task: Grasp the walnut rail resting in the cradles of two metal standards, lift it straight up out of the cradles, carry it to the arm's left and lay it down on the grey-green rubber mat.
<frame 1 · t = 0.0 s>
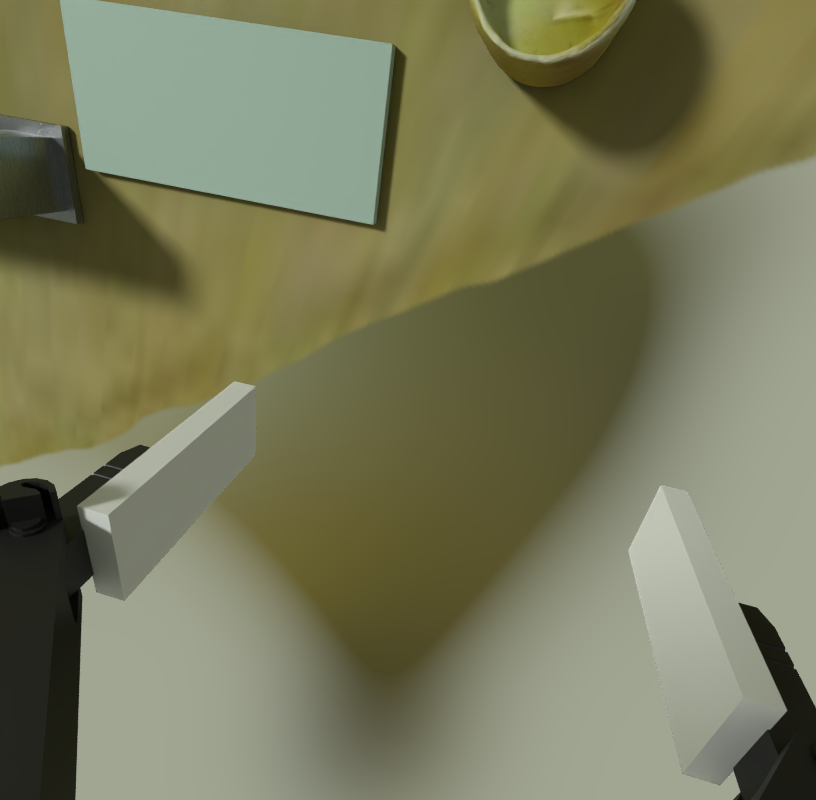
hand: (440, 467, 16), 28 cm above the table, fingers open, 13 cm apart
mat: (228, 114, 39), on the table
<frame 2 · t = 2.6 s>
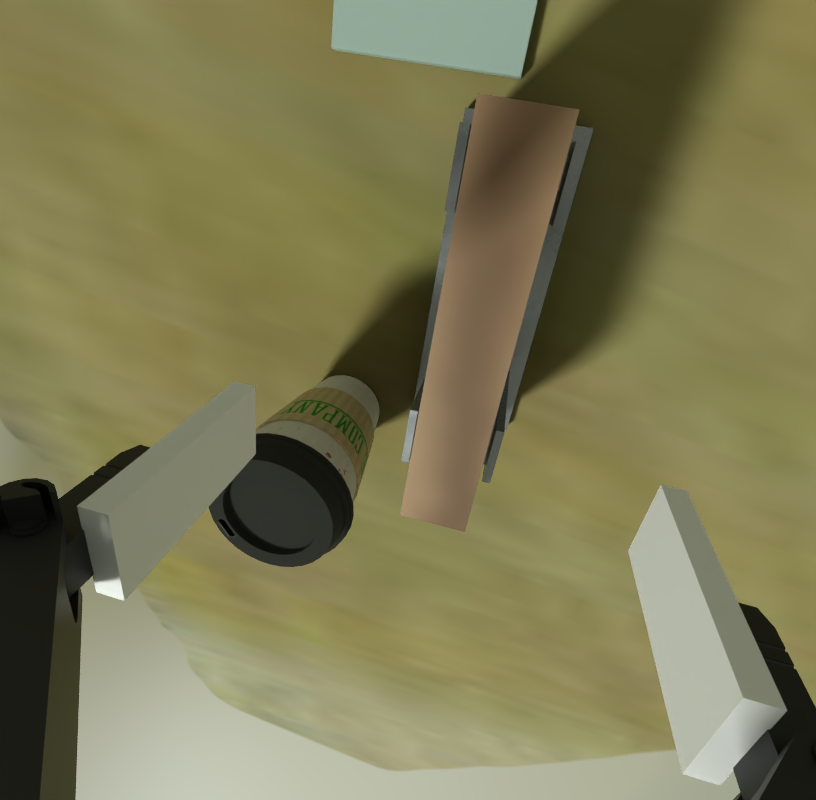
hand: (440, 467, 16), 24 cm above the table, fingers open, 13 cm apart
coffee cup: (346, 405, 44), on the table
rail: (480, 320, 30), point 8 cm above the table, touching standards
standards: (489, 287, 37), on the table
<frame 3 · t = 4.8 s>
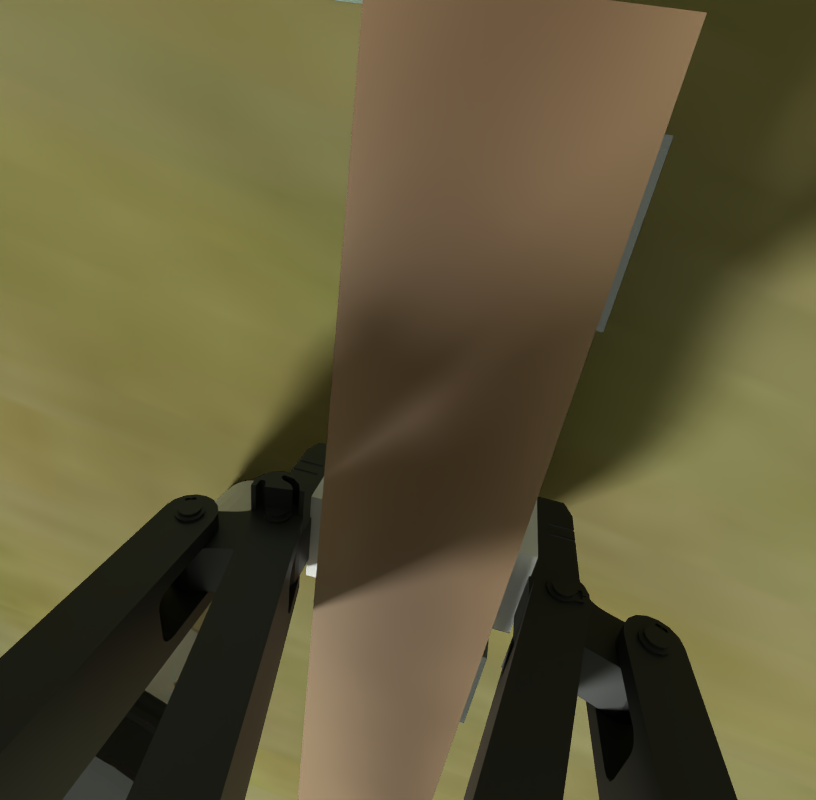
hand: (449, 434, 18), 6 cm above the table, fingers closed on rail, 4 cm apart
coffee cup: (268, 519, 31), on the table
rail: (441, 463, 16), point 8 cm above the table, touching gripper, standards
standards: (468, 368, 23), on the table
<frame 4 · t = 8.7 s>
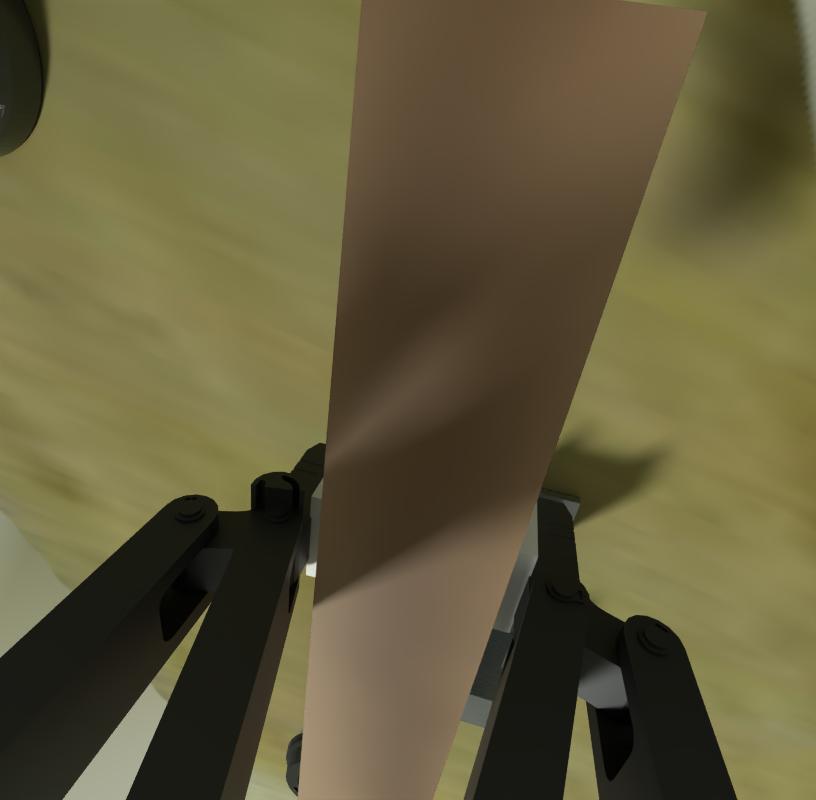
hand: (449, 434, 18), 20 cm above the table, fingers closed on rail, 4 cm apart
coffee cup: (381, 634, 54), on the table
rail: (441, 464, 16), point 21 cm above the table, touching gripper
standards: (500, 577, 46), on the table
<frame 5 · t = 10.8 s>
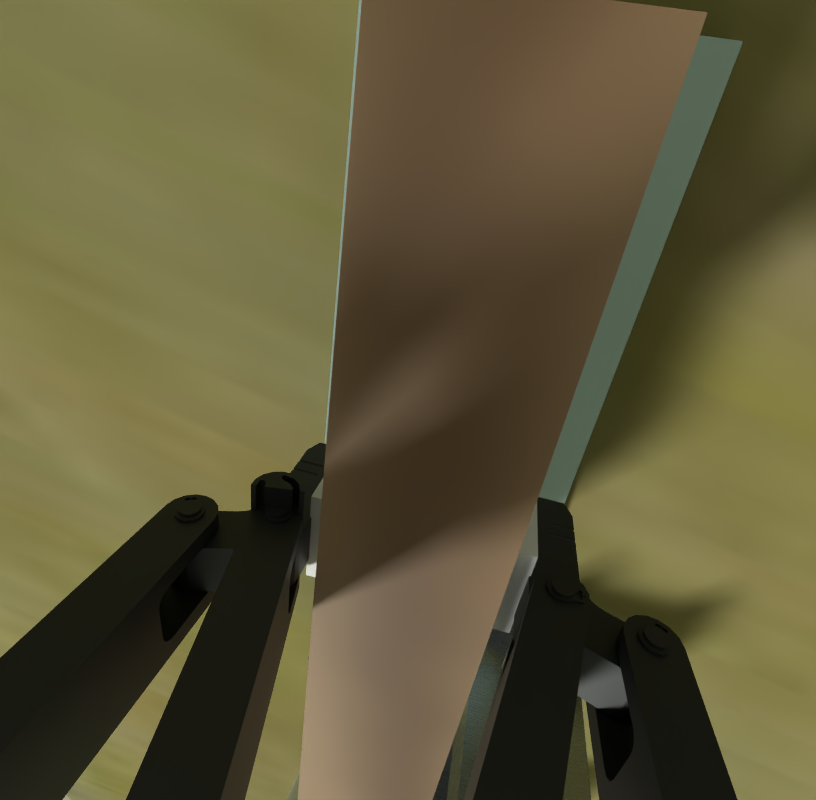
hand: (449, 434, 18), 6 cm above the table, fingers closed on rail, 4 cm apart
mat: (464, 371, 23), on the table
rail: (441, 464, 16), point 7 cm above the table, touching gripper
standards: (488, 729, 34), on the table
when the fingers open (2 cm above the table, at t = 12.4 s): rail drops 2 cm, resting on mat.
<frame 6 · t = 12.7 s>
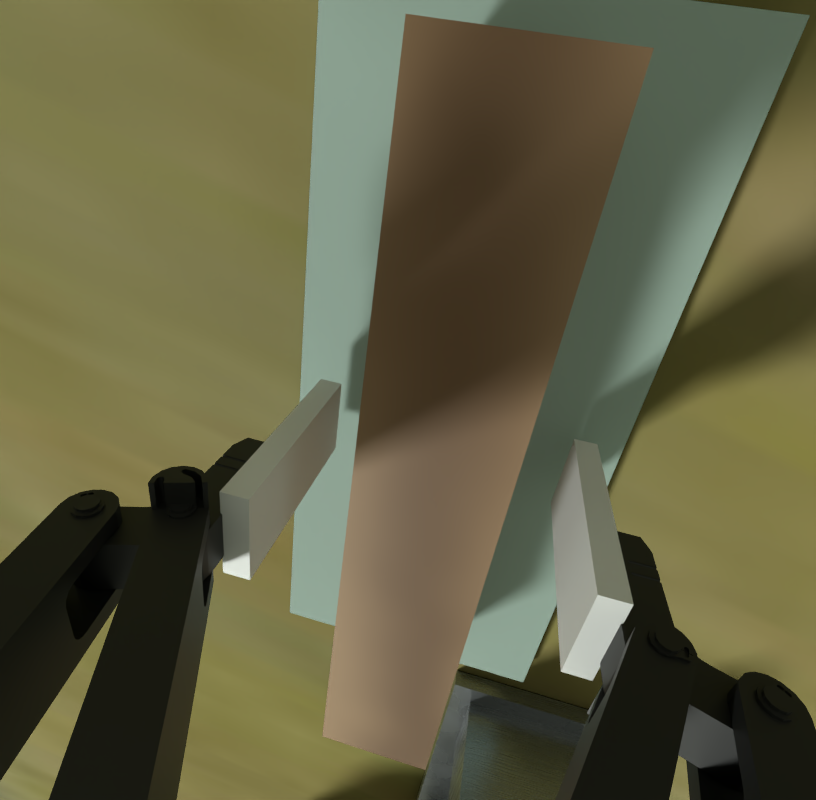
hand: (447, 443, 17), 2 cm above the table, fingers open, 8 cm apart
mat: (455, 413, 19), on the table
rail: (450, 425, 18), point 1 cm above the table, touching mat
standards: (485, 796, 31), on the table
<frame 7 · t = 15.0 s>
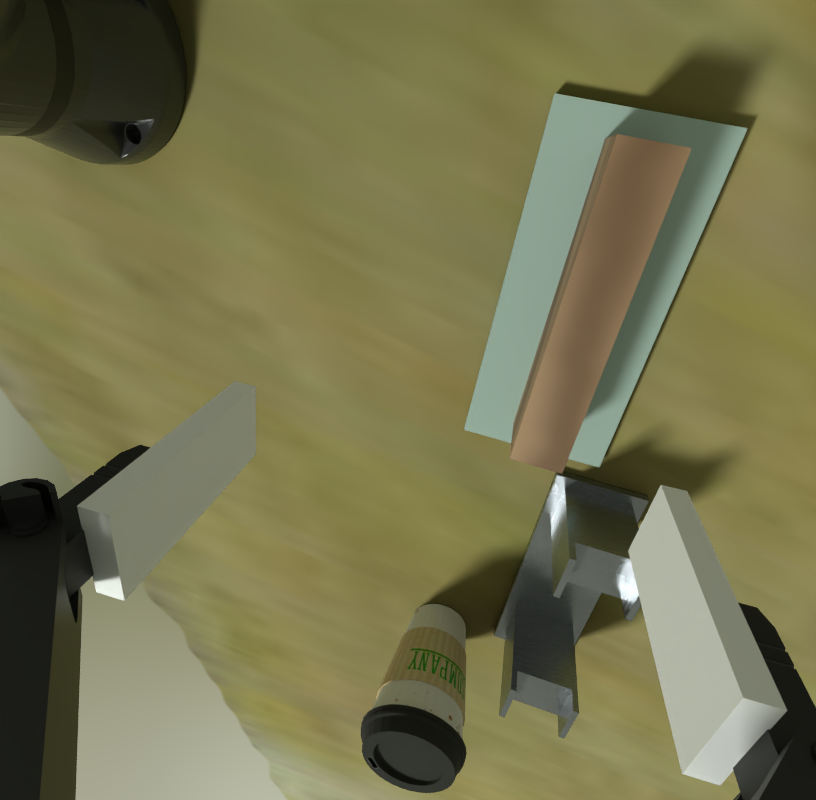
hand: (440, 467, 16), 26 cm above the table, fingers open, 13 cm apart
mat: (579, 303, 38), on the table
coffee cup: (439, 622, 57), on the table
rail: (579, 305, 37), point 1 cm above the table, touching mat
standards: (562, 570, 49), on the table
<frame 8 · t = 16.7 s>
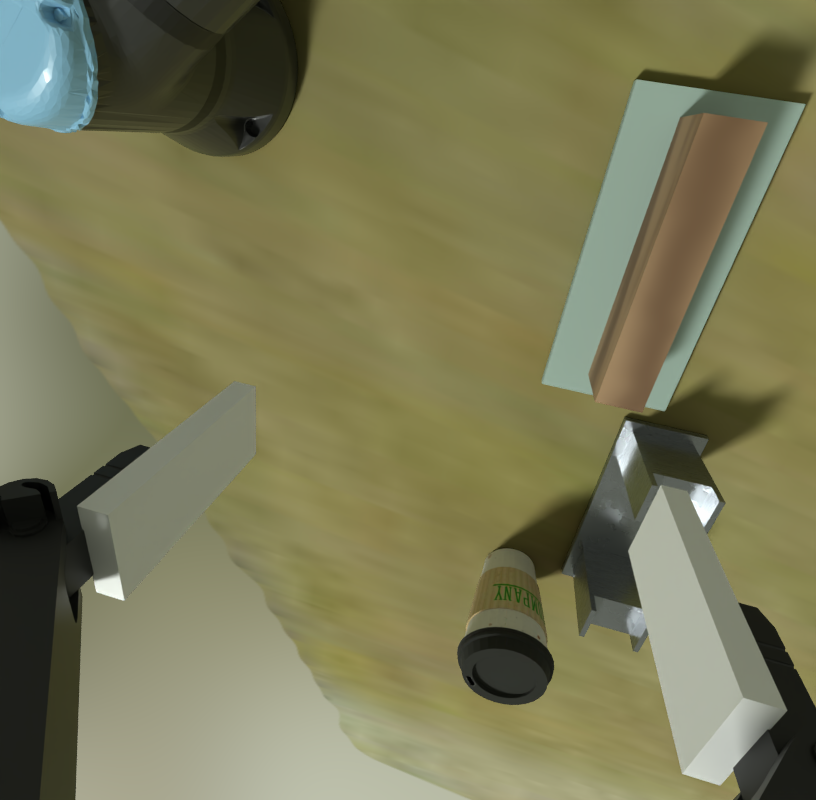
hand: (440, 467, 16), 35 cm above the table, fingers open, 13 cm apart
mat: (650, 264, 44), on the table
coffee cup: (509, 565, 63), on the table
rail: (652, 266, 43), point 1 cm above the table, touching mat
standards: (626, 509, 55), on the table
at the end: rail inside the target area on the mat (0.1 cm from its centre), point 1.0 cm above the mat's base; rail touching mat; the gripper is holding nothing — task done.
